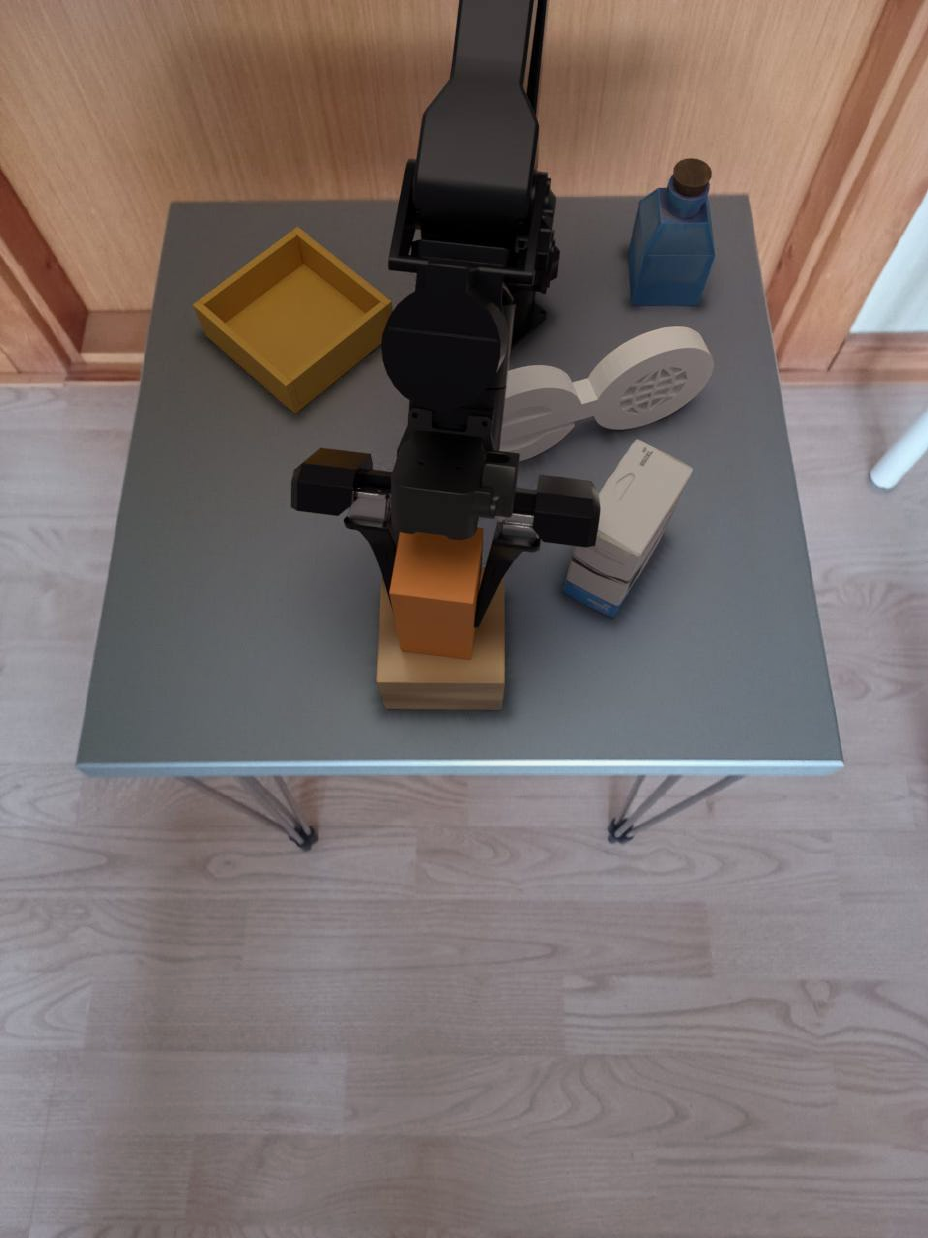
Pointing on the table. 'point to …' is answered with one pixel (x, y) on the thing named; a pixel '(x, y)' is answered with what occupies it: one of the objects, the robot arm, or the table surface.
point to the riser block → (443, 666)
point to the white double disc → (605, 390)
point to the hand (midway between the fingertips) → (436, 620)
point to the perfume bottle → (673, 240)
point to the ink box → (627, 527)
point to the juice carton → (436, 593)
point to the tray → (295, 318)
